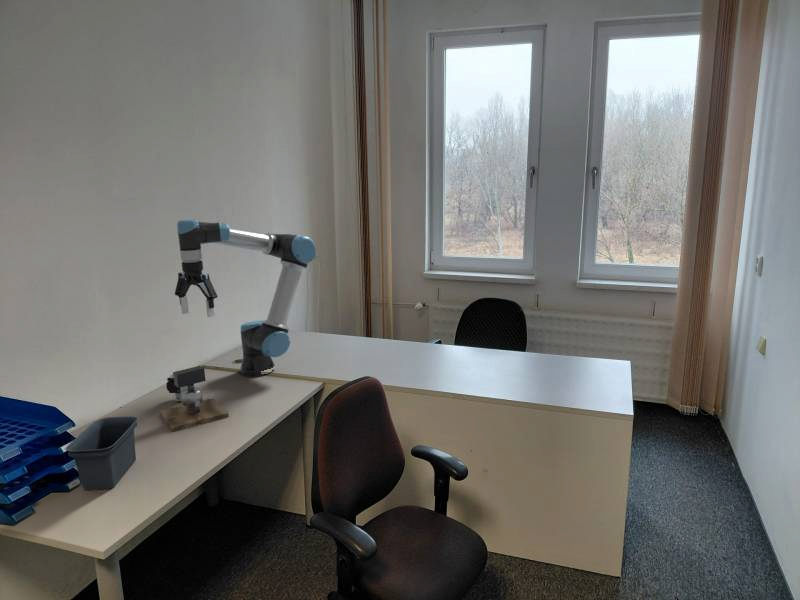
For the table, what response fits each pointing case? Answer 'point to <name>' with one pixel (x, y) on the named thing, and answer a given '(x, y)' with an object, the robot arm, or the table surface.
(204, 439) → the table surface
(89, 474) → the storage bin
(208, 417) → the base
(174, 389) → the pneumatic valve
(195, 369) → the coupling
